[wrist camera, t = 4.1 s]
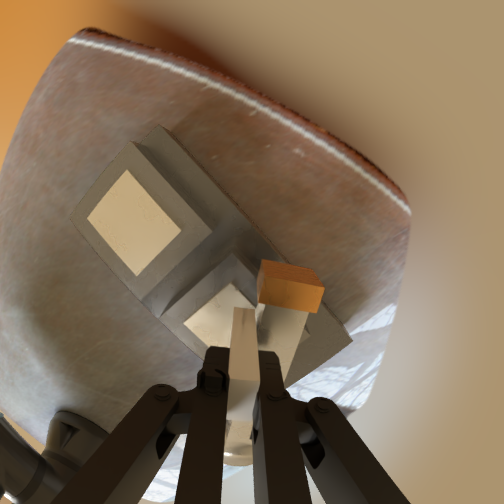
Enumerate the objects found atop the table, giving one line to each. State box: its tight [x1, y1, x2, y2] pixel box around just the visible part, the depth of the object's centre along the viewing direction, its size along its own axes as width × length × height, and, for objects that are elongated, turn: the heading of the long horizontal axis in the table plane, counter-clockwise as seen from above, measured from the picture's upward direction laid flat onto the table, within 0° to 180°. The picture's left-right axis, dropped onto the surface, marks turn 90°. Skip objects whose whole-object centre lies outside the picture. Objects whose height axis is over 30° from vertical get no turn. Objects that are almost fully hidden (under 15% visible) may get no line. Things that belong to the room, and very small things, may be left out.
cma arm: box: [223, 259, 325, 466], centre depth 17 cm, size 18×4×3 cm, turn 168°
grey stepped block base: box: [69, 125, 353, 389], centre depth 22 cm, size 14×26×8 cm, turn 42°
